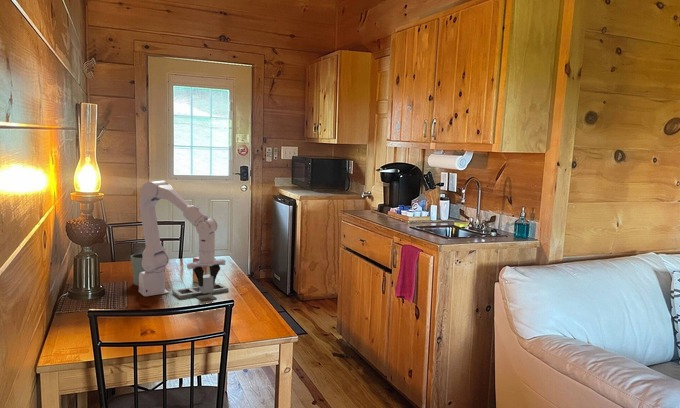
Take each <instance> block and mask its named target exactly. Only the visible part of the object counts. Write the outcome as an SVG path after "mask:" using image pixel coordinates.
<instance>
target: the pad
mask: <svg viewBox="0 0 680 408" xmlns="http://www.w3.org/2000/svg"><path fill="white" fill-rule="evenodd" d="M195 298H196V299H197V300H199V301H200V302H202V303H203V302H207V301H215V300H217V299H218V298H217V297H216V296H214V294H208V295H202V296H196V297H195Z"/></svg>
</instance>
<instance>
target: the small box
mask: <svg viewBox="0 0 680 408" xmlns="http://www.w3.org/2000/svg"><path fill="white" fill-rule="evenodd" d="M214 260H217V259H216V257H214ZM197 261H199V256H196V257H193V258H192V262H197ZM202 270H204V273H203V275H208V274H210V267H202ZM192 282H195V283H198V279H197V276H196V274H195V272H194V270H193V269H192Z"/></svg>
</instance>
